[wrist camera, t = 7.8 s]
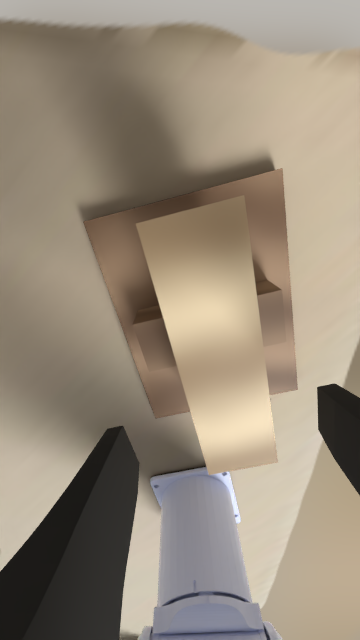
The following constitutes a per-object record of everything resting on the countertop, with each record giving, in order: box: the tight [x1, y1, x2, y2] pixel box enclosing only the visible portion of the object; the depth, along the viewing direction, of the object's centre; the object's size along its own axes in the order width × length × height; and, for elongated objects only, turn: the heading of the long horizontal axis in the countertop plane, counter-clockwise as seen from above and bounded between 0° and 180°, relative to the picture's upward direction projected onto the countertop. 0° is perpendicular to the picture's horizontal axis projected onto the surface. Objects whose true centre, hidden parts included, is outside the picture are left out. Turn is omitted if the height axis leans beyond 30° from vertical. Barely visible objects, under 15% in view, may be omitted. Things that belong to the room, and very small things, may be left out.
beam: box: [136, 195, 278, 475], centre depth 13 cm, size 14×4×4 cm, turn 14°
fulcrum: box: [84, 168, 298, 418], centre depth 17 cm, size 16×12×4 cm
